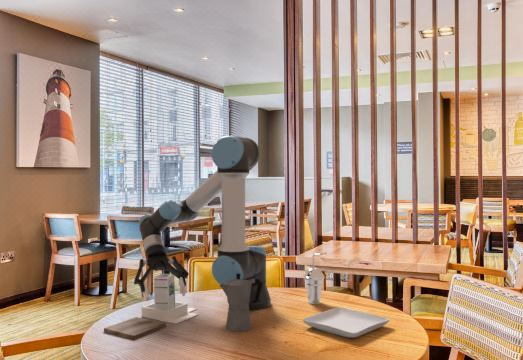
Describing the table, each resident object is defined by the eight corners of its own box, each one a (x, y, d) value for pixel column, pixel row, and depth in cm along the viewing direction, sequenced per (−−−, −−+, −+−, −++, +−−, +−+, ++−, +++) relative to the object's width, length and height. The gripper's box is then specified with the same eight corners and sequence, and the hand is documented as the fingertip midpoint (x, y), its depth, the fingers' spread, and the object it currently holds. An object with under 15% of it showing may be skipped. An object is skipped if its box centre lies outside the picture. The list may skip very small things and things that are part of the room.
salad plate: (338, 315, 171) (338, 305, 171) (391, 328, 156) (391, 317, 155) (300, 328, 156) (300, 318, 156) (354, 344, 141) (354, 333, 141)
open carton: (206, 311, 175) (206, 302, 175) (176, 323, 161) (176, 313, 161) (173, 305, 184) (173, 296, 184) (141, 316, 170) (141, 306, 170)
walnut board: (165, 327, 158) (165, 323, 158) (134, 339, 146) (134, 335, 146) (136, 320, 165) (136, 317, 165) (103, 332, 154) (103, 328, 154)
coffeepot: (225, 334, 150) (224, 278, 150) (215, 326, 158) (214, 272, 158) (268, 327, 156) (268, 273, 156) (257, 319, 165) (256, 268, 165)
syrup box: (169, 317, 168) (169, 277, 168) (154, 316, 170) (153, 276, 169) (175, 313, 174) (175, 273, 174) (160, 312, 175) (160, 273, 175)
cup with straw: (312, 298, 192) (311, 249, 192) (330, 302, 186) (329, 251, 186) (298, 302, 186) (298, 252, 186) (317, 307, 180) (316, 254, 180)
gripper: (183, 252, 191) (196, 297, 178) (120, 257, 179) (129, 306, 166) (187, 240, 186) (201, 286, 173) (123, 245, 175) (132, 295, 161)
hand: (166, 296), depth 170 cm, fingers open, 13 cm apart
